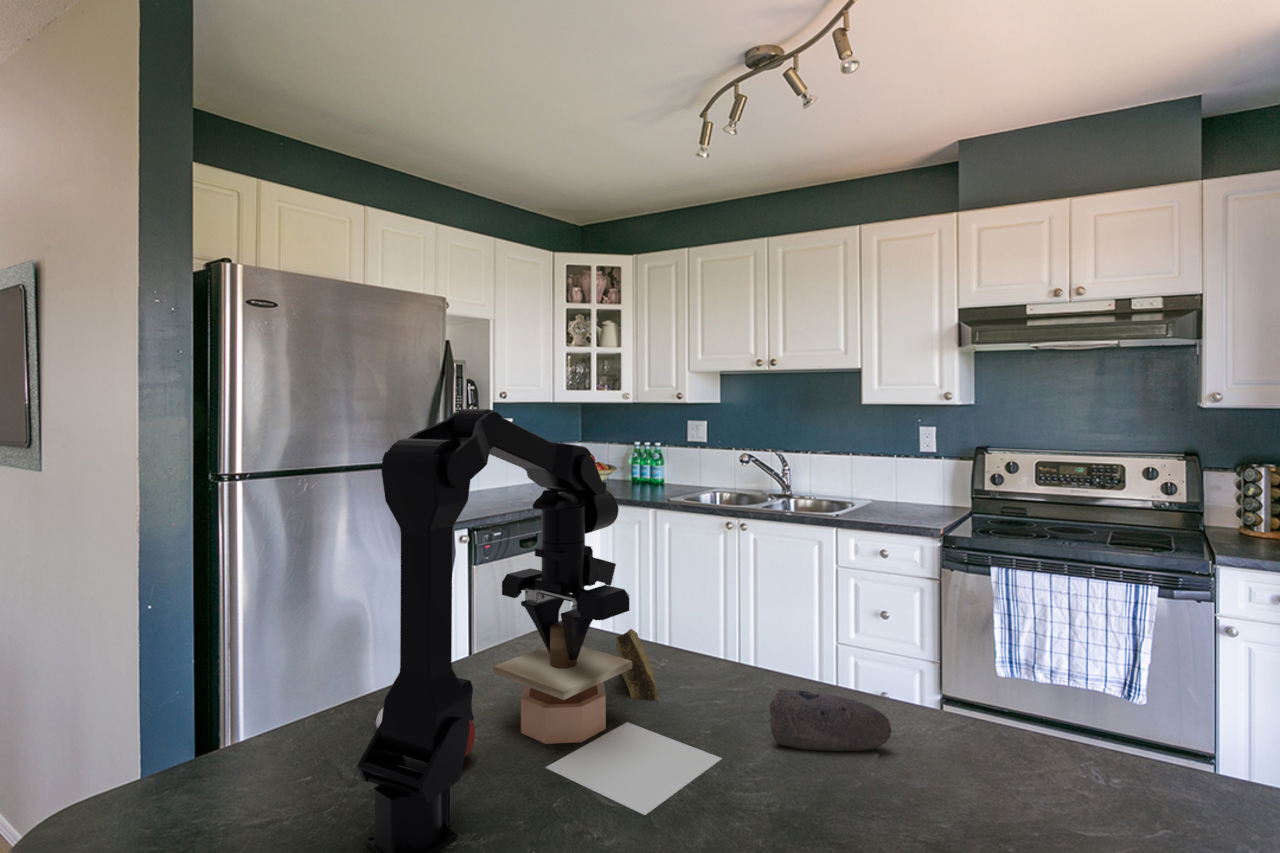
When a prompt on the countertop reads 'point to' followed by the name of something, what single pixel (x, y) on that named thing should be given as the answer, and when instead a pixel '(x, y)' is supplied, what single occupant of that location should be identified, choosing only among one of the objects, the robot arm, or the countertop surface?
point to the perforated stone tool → (826, 722)
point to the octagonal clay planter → (563, 715)
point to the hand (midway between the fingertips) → (563, 656)
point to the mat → (634, 766)
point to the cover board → (562, 667)
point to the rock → (637, 667)
